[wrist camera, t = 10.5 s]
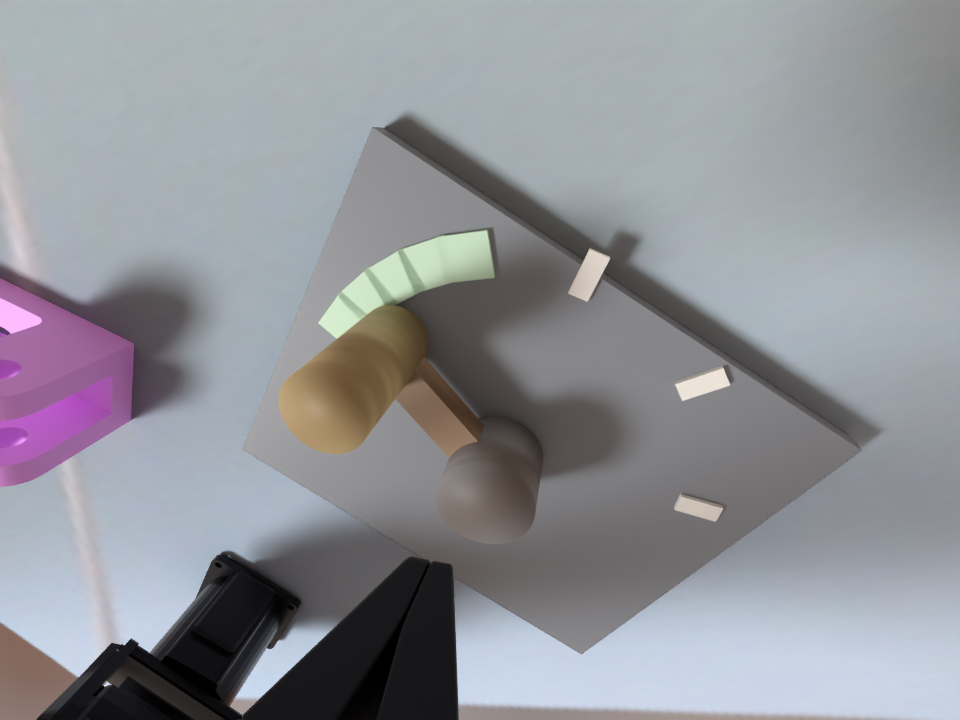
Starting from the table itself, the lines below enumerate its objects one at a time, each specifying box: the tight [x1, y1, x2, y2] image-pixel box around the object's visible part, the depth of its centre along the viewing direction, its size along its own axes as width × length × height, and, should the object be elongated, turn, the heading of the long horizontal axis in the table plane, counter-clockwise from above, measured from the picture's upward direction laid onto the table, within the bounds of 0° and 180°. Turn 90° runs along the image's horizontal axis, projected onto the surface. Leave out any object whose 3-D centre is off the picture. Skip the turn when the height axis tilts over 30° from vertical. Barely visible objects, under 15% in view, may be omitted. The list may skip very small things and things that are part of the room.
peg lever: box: [278, 305, 543, 544], centre depth 18 cm, size 10×4×6 cm, turn 40°
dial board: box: [242, 127, 862, 654], centre depth 22 cm, size 19×22×1 cm
